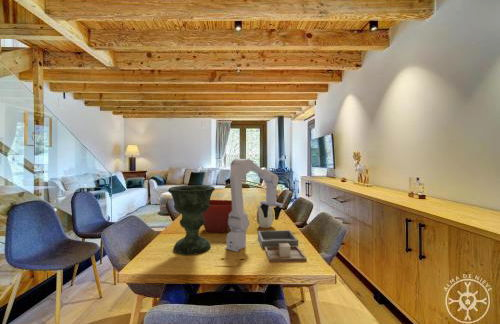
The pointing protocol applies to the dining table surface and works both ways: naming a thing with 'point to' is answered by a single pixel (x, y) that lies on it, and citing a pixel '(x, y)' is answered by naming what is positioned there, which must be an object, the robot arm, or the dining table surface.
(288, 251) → the block
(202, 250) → the goblet
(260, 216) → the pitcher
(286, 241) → the bin
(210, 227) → the plant pot
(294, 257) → the tray
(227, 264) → the dining table surface
